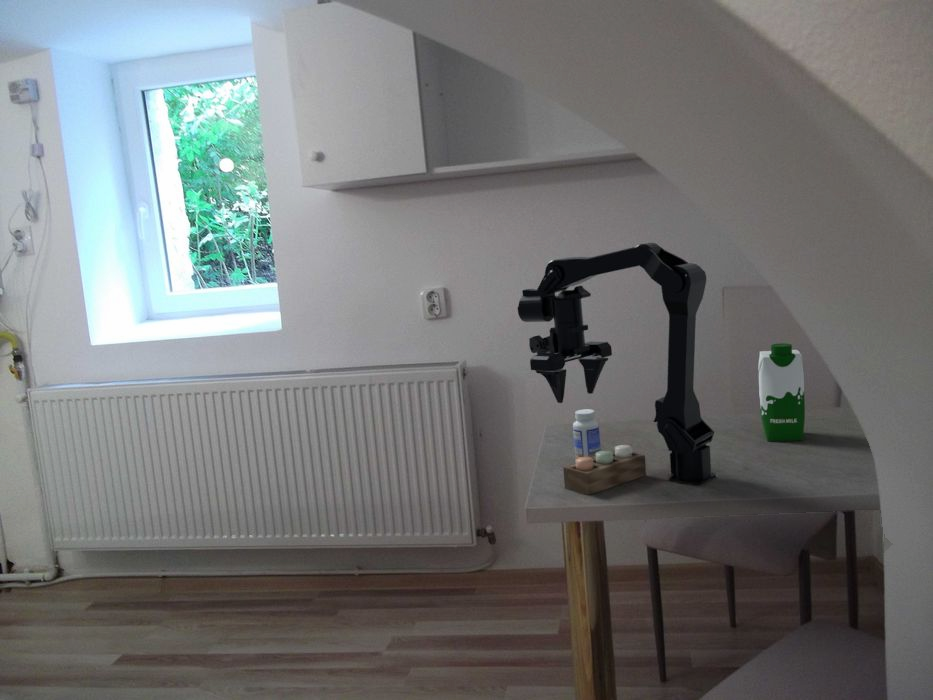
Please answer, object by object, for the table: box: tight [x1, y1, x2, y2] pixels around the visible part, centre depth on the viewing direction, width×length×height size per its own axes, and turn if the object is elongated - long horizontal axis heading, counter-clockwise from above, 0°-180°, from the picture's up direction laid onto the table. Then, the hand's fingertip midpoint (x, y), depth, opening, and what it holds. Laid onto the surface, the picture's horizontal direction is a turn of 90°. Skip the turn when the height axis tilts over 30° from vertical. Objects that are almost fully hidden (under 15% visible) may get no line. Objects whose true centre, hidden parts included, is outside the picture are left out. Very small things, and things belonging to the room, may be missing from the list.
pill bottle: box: [572, 408, 602, 459], centre depth 175 cm, size 5×5×10 cm
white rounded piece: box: [614, 444, 633, 459], centre depth 161 cm, size 3×3×2 cm
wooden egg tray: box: [563, 450, 647, 496], centre depth 158 cm, size 15×6×4 cm, turn 125°
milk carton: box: [757, 342, 806, 442], centre depth 176 cm, size 9×9×20 cm
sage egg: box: [595, 450, 613, 465], centre depth 158 cm, size 3×3×2 cm
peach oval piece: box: [574, 457, 593, 472], centre depth 155 cm, size 3×3×2 cm
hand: (575, 398), depth 169 cm, fingers open, 9 cm apart
